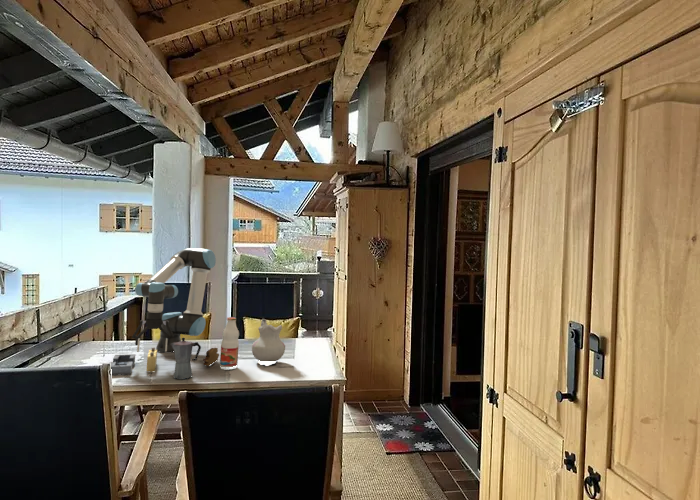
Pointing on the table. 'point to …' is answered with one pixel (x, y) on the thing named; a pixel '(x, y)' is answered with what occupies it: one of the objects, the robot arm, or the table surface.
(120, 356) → the end link
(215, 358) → the wooden carving
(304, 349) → the table surface
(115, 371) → the end link
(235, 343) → the fruit juice
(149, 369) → the yellow block with knob
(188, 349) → the moka pot
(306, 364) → the table surface
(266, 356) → the ceramic pitcher
